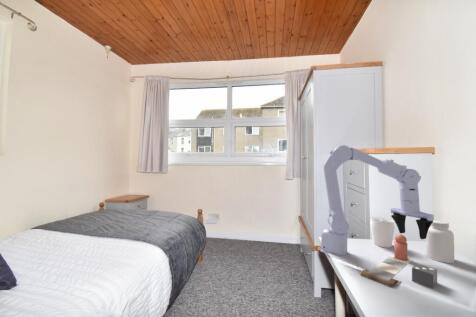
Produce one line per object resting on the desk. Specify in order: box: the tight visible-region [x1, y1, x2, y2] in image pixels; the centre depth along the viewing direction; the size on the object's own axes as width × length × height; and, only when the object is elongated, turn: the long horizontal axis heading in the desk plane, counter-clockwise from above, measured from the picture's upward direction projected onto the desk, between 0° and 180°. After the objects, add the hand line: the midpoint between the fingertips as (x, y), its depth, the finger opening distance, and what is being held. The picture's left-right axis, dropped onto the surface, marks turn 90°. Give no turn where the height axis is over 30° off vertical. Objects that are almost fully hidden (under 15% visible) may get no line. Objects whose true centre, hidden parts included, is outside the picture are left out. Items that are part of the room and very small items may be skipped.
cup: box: [369, 217, 395, 248], centre depth 99 cm, size 9×9×12 cm
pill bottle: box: [425, 219, 455, 264], centre depth 85 cm, size 8×8×15 cm
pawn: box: [393, 233, 408, 261], centre depth 84 cm, size 4×4×9 cm
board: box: [360, 253, 414, 288], centre depth 78 cm, size 9×28×1 cm, turn 128°
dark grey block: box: [411, 263, 438, 289], centre depth 68 cm, size 5×5×5 cm
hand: (412, 235), depth 84 cm, fingers open, 7 cm apart
